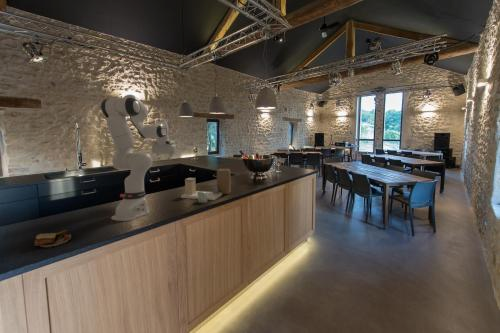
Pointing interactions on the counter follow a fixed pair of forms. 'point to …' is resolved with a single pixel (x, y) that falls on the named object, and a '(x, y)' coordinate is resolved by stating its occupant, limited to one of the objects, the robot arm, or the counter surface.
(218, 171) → the wooden block
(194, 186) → the carton
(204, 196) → the sage green capsule
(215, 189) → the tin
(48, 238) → the toy sandwich meal
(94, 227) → the counter surface
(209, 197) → the white tray
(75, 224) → the counter surface
